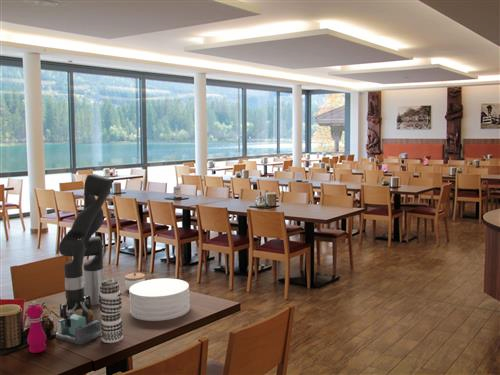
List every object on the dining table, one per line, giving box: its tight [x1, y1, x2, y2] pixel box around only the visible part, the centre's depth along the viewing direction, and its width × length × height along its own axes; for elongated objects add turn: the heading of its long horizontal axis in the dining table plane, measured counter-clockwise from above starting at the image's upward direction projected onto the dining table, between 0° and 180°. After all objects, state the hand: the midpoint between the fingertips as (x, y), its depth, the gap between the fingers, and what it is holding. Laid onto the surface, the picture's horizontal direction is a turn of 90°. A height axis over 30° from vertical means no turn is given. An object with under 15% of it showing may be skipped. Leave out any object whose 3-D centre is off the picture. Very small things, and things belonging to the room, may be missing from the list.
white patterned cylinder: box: [98, 278, 124, 344], centre depth 227 cm, size 9×9×25 cm
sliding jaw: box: [56, 314, 78, 334], centre depth 234 cm, size 2×9×6 cm, turn 147°
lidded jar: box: [124, 271, 146, 290], centre depth 294 cm, size 11×11×9 cm
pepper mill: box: [26, 300, 48, 354], centre depth 218 cm, size 7×7×20 cm
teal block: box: [69, 315, 87, 335], centre depth 231 cm, size 6×4×7 cm, turn 57°
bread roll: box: [73, 309, 94, 323], centre depth 251 cm, size 10×10×8 cm
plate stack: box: [128, 277, 191, 322], centre depth 261 cm, size 28×28×12 cm
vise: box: [55, 319, 102, 346], centre depth 231 cm, size 15×11×6 cm
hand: (76, 323), depth 231 cm, fingers open, 8 cm apart
